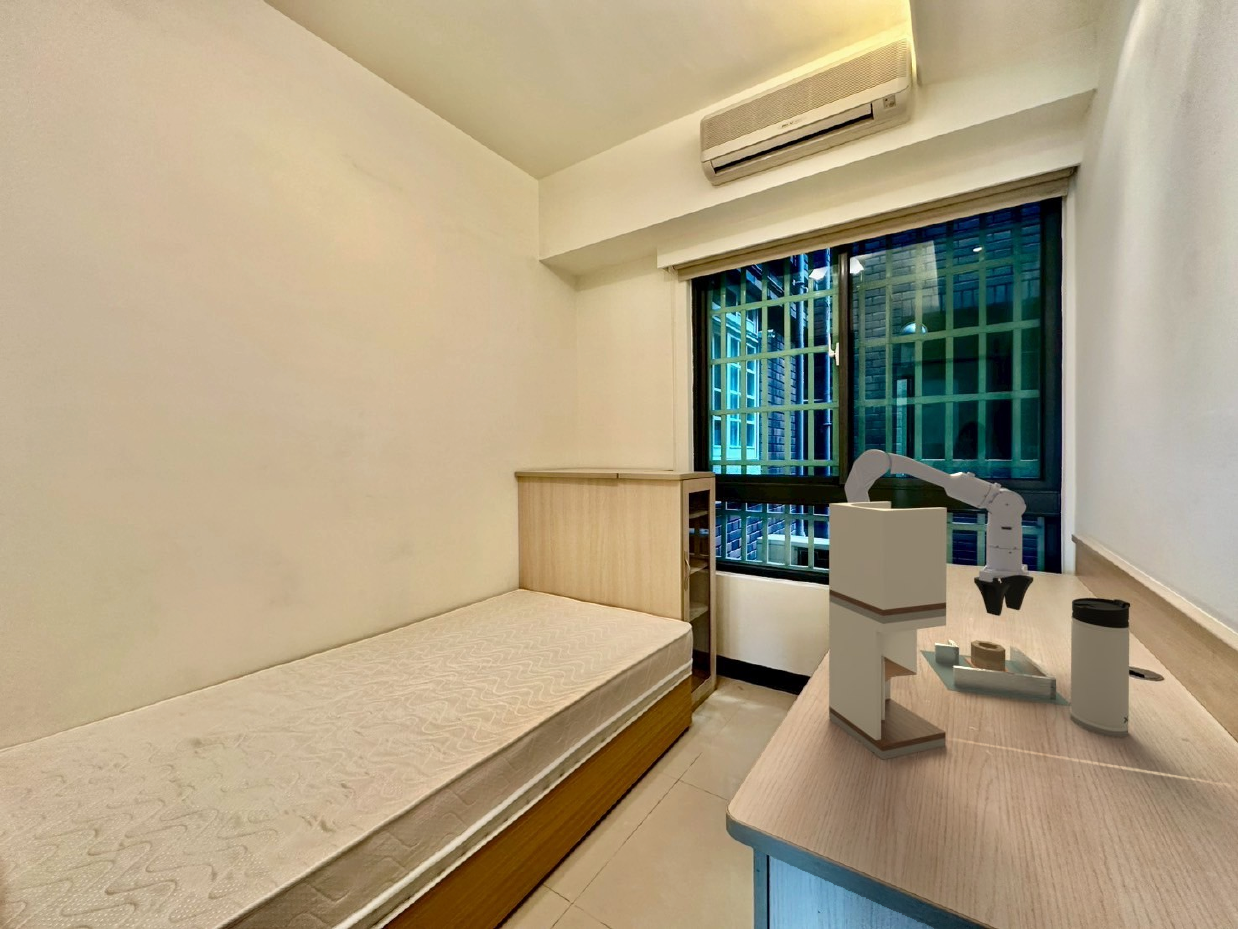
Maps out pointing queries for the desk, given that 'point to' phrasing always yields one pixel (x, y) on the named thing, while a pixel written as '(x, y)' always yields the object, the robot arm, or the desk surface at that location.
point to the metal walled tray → (1000, 674)
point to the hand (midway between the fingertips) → (1003, 611)
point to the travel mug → (1100, 665)
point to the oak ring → (988, 655)
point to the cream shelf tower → (882, 618)
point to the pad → (978, 667)
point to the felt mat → (947, 678)
